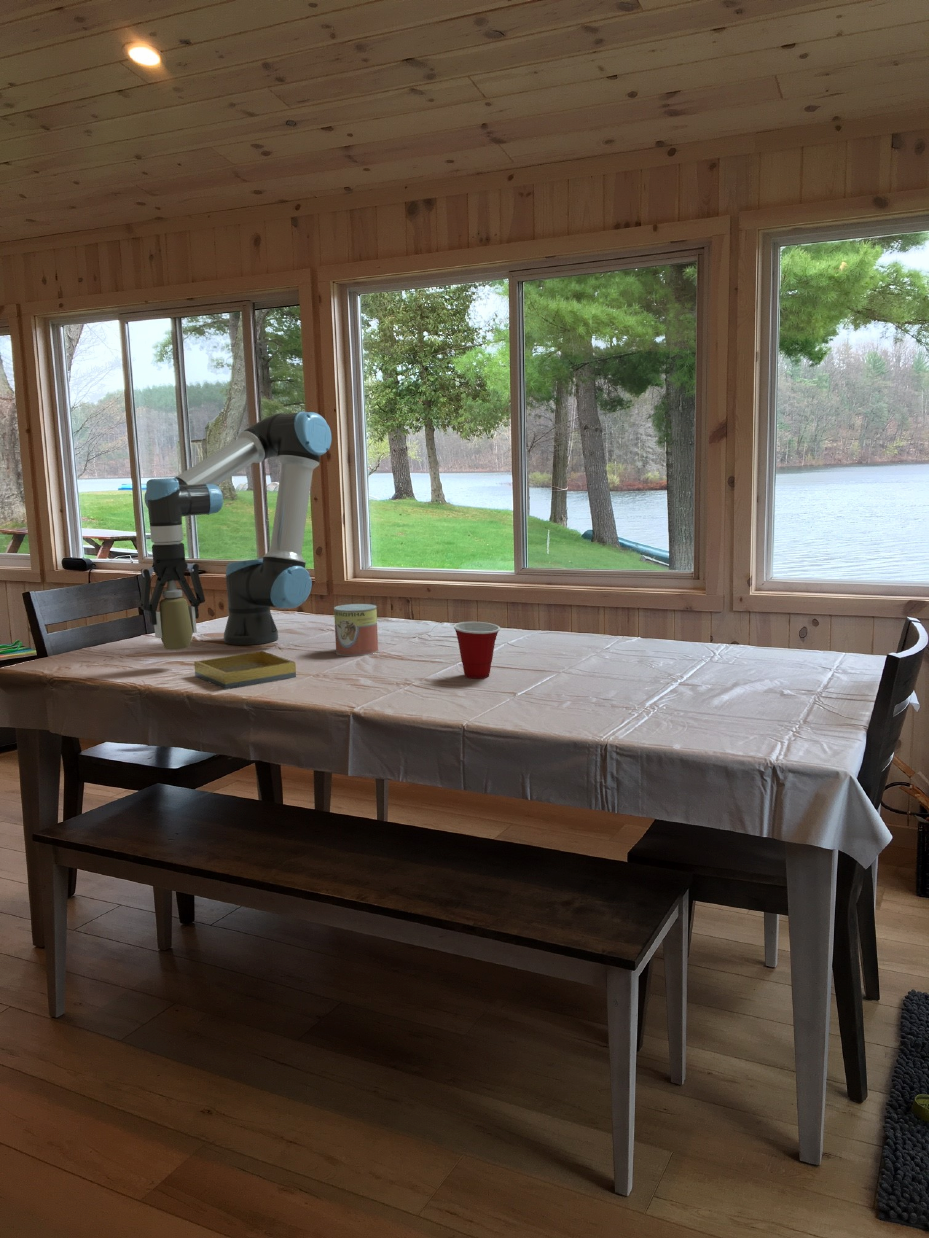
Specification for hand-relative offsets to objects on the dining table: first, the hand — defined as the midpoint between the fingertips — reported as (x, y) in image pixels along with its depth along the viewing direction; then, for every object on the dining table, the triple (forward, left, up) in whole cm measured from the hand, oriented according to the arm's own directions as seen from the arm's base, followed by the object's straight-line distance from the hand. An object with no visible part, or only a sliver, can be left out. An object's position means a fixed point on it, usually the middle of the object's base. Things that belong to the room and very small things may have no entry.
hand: (176, 634), depth 229 cm
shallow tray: (-9, +20, -9) cm, 24 cm away
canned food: (-44, +13, -9) cm, 46 cm away
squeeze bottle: (0, 0, -4) cm, 4 cm away
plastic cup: (-50, +57, -9) cm, 76 cm away
